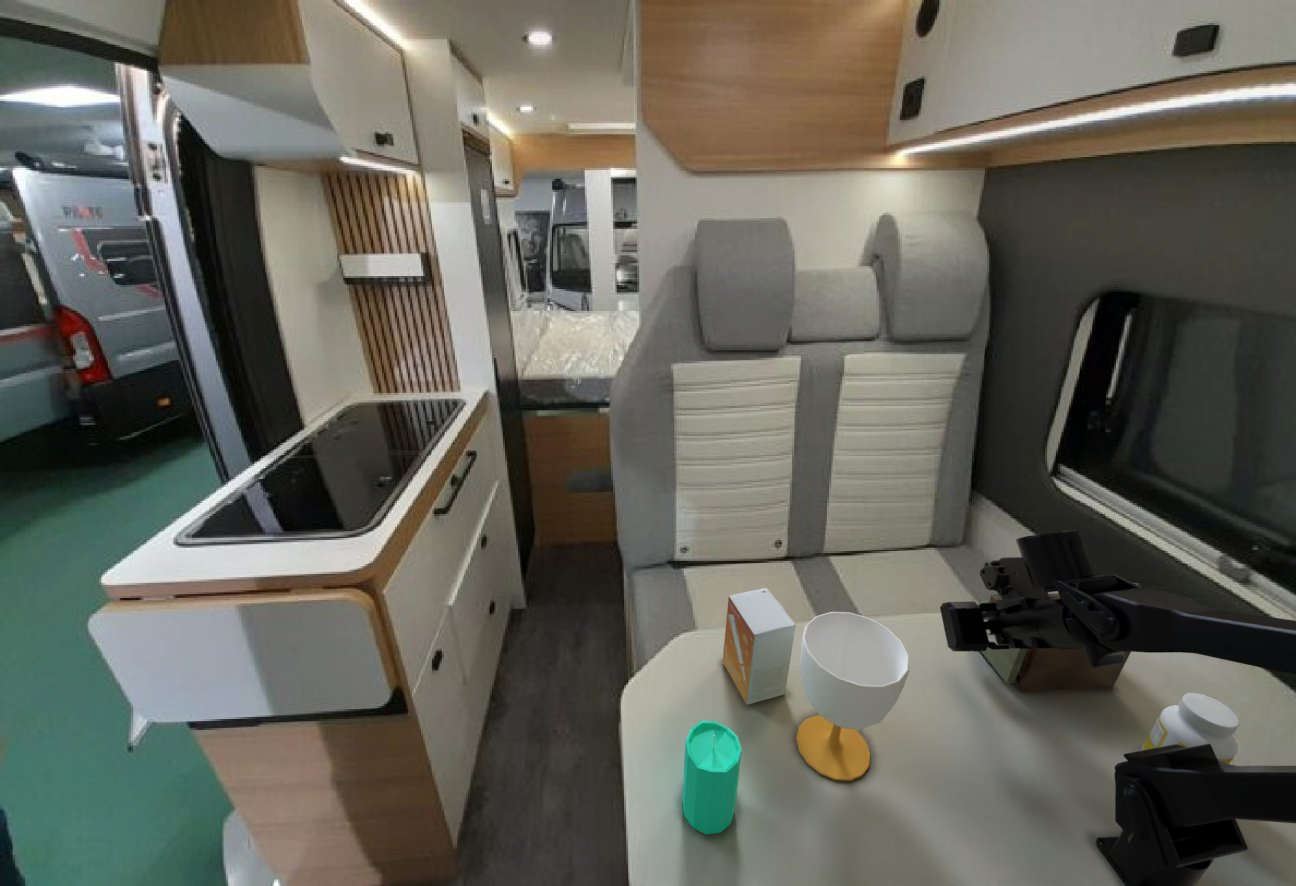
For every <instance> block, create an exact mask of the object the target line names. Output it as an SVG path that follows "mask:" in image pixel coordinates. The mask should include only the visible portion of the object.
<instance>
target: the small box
mask: <svg viewBox="0 0 1296 886" xmlns="http://www.w3.org/2000/svg"><path fill="white" fill-rule="evenodd" d="M796 626H797V625H796V623H795V622H794V621H793V619H792V618H791V617H790V615H789V614H788V613H787V611H786V610H785V608H784V607H783V606H782V604H781V603H780V602H779V601H778V600H777V599H776V597H775V596H774V594H773V593H772V592H771V591H770V590H769V588H768V587H764V588H758V589H752V590H748V591H744V592H739V593H735V594H731V595H728V598H727V611H726V620H725V632H724V642H723V653H722V664H723V666H724V668H725V669H726V671H727V673H728V674H729V676H730V678H731V680H732V681H733V683H734V685H735V686H736V688H737V691H738V692H739V694H740V696H741V697H742V700H743V702H744V703H745V705H747V706H748V705H752V704H755V703H759V702H763V701H766V700H770V699H774V698H777V697H780V696H783V695H786V690H787V685H788V678H789V671H790V665H791V658H792V652H793V646H794V639H795V633H796Z"/></svg>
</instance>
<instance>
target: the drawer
mask: <svg viewBox="0 0 1296 886" xmlns="http://www.w3.org/2000/svg"><path fill="white" fill-rule="evenodd" d="M981 603H989V601H979V603H978V606H979V605H980V604H981ZM1000 611H1001V610H1000ZM1009 648H1010V646H1009ZM1031 651H1032V649H1019V648H1010V649H998V650H992V649H989V648H988V647H987V650H986V651H980V652H981V653H982V655H983V656H984V657H985V658H986V660H988V662H989V663H990V665H991V666H992V667H993V668H994V669H995V671H996V672H997V673H998V674H999V676H1000V677H1001V678H1002V680H1003V681H1004V682H1005V684H1015V680H1016V677H1017V675H1019V676H1020V677H1021V676H1022V674H1023V671H1024V669H1025V666H1026V664H1027V661H1028V659H1029V656H1030V654H1031Z"/></svg>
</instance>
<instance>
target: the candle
mask: <svg viewBox="0 0 1296 886" xmlns="http://www.w3.org/2000/svg"><path fill="white" fill-rule="evenodd" d="M684 746H685V747H684V764H683V781H682V782H683V783H682V799H681V803H682V809H683V816H684V818H685V819H686V821H687V822H688V823H689V825H690V826H691V827H692V828H693V829H694V830H696V831H699V832H700V833H702V834H704V835H715V834H721V833H722V832H724V830H726V829H727V828H728V827H729V826H731V825H732V821H733V817H734V814H735V811H736V803H737V793H738V785H739V779H740V778H739V777H740V776H739V775H740V768H741V759H742V752H743V749H742V746H741V742H740V738H739V736H738V735H737V734H736V733H735V732H734V731H733V730H732V729H731V728H729V726H727V725H724V724H722V723H720V722H717V721H716V720H700V721H699V722H697V723H696V724H695V725H694V726H693V727H691V728H690V729H689V732H688V734H687V736H686V738H685V745H684Z"/></svg>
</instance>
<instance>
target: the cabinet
mask: <svg viewBox="0 0 1296 886" xmlns="http://www.w3.org/2000/svg"><path fill="white" fill-rule="evenodd" d="M1048 594H1049V597H1055V596H1059V593H1058V592H1057V593H1048ZM1059 597H1060V596H1059ZM1001 599H1002V598H1001V597H1000V595H999V594H998V593H996V594H993V593H992V594H991V595H990V598H989V601H988V603H995V600H1001ZM1131 653H1132V652H1130V651H1125V652H1124V655H1125V658H1124V662H1123V663H1122V664H1117V665H1109V666H1102V667H1095V668H1094V667H1092V666H1091V665H1090V663H1089V661H1088V658H1087V656H1086V653H1085V650H1084V648H1079V649H1061V648H1039V649H1032V651H1031V654H1030V656H1029V659H1028V661H1027V664H1026V666H1025V669H1024V671H1023V674H1022V676H1021V677H1020V676H1019V675H1017V677H1016V680H1015V683H1014V685H1015V686H1016V687H1017V688H1018V689H1019V691H1021V692H1031V691H1032V692H1034V691H1036V692H1037V691H1041V692H1042V691H1083V690H1084V691H1086V690H1087V691H1088V690H1089V691H1091V690H1113V689H1114V687H1115V686H1116V685H1115V684H1116V683H1117V681H1118V679H1119V677H1120V675H1121V673H1122V671H1123V669H1124V667H1125V665H1126V663H1127V661H1128V659H1129V657H1130V655H1131Z"/></svg>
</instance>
